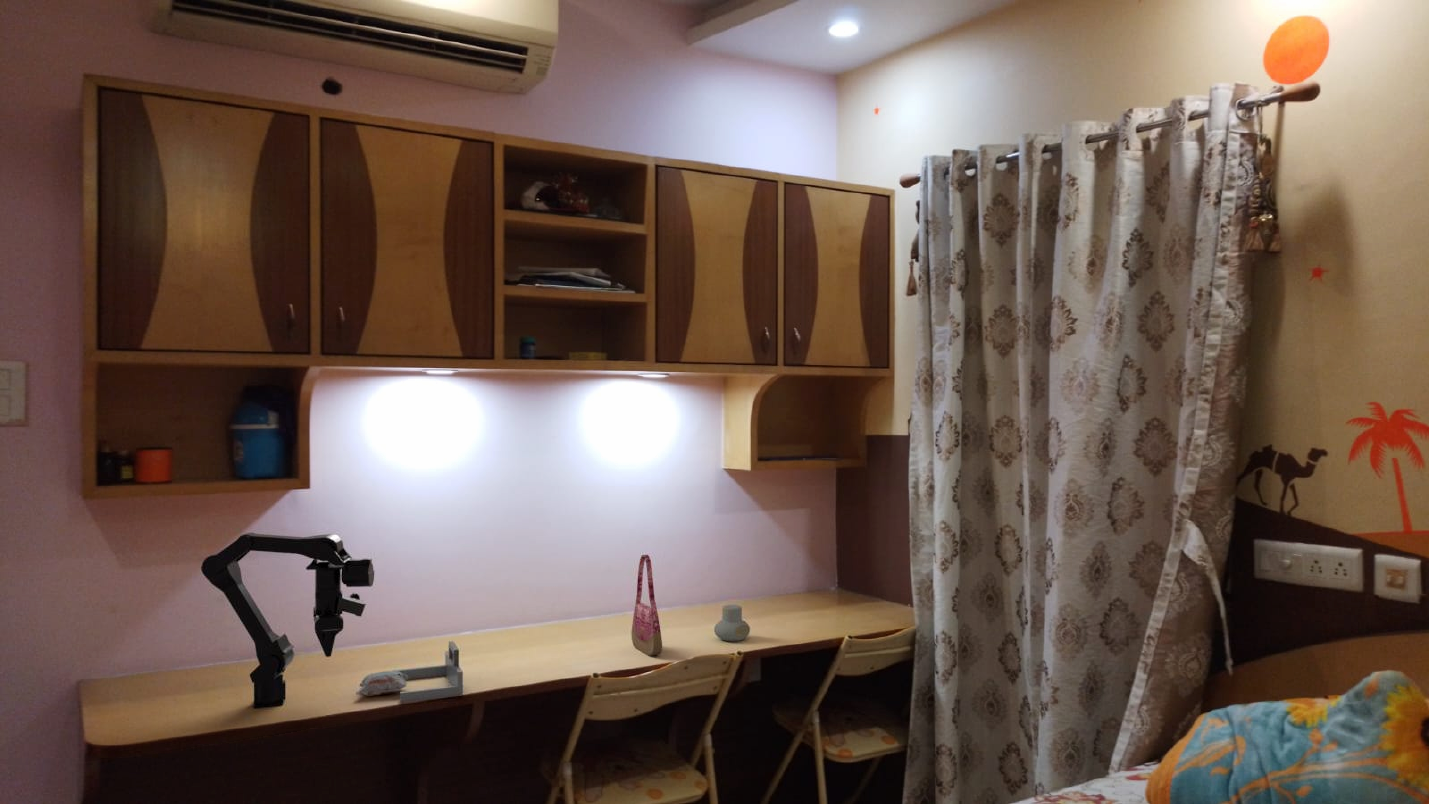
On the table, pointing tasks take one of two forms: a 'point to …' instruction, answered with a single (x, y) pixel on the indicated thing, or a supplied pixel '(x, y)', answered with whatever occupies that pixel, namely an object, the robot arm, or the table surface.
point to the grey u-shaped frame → (448, 669)
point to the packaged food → (382, 683)
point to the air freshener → (732, 624)
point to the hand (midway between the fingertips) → (327, 652)
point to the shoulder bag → (646, 616)
